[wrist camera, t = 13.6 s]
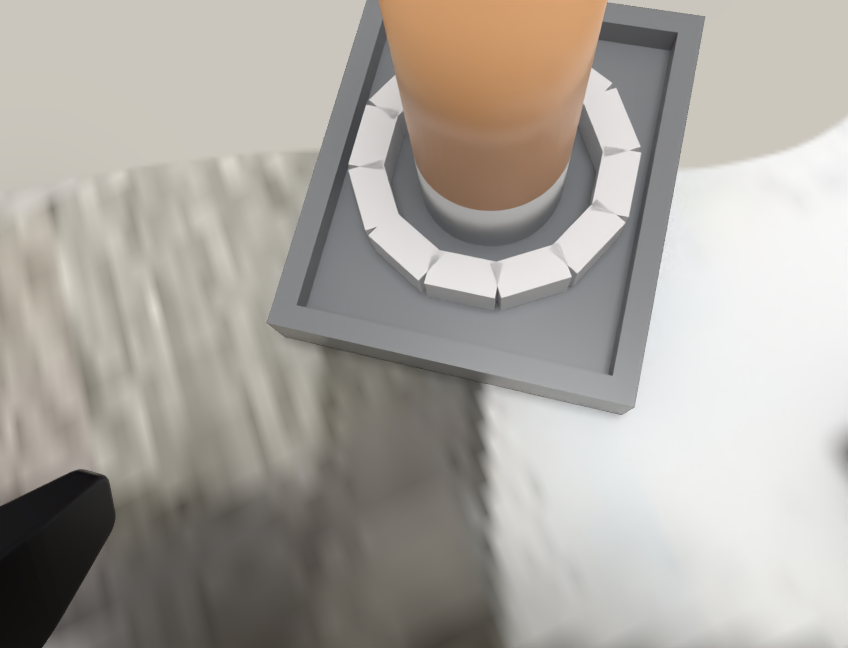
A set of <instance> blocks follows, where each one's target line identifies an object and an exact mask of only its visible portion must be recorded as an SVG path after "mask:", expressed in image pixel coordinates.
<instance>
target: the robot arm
mask: <svg viewBox="0 0 848 648" xmlns="http://www.w3.org/2000/svg"><path fill="white" fill-rule="evenodd" d="M114 523H115V508H114V503H113V498H112V493H111V488H110V483H109V480H108V478H107V477H106V476H105V475H102V474H99V473H95V472H92V471H88V470H83V469H79V470H75V471H72V472H70V473H68V474H66V475H64V476H61V477H59V478H57V479H55V480H53V481H51V482H49V483H47V484H45V485H43V486H41V487H39V488H37V489H35V490H33V491H31V492H28V493H26V494H24V495H22V496H20V497H18V498H16V499H14V500H12V501H10V502H8V503H6V504H4V505H2V506H0V648H42V647H43V646H44V644H45V643H46V641H47V640H48V638H49V637H50V635H51V634H52V632H53V631H54V629H55V628H56V626H57V624H58V623H59V621H60V620H61V618H62V616H63V615H64V613H65V611H66V610H67V608H68V606H69V604H70V603H71V601H72V599H73V597H74V596H75V594H76V592H77V590H78V589H79V587H80V585H81V583H82V582H83V580H84V578H85V577H86V575H87V573H88V571H89V570H90V568H91V566H92V564H93V563H94V561H95V559H96V557H97V556H98V554H99V552H100V550H101V549H102V547H103V545H104V544H105V542H106V540H107V538H108V537H109V535H110V533H111V531H112V529H113V526H114Z"/></svg>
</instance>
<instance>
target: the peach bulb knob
mask: <svg viewBox="0 0 848 648" xmlns="http://www.w3.org/2000/svg"><path fill="white" fill-rule="evenodd" d="M379 5H380V9H381V13H382V18H383V22H384V27H385V31H386V36H387V40H388V44H389V49H390V53H391V58H392V62H393V67H394V71H395V75H396V80H397V84H398V89H399V93H400V98H401V102H402V106H403V111H404V115H405V120H406V124H407V129H408V133H409V137H410V142H411V146H412V151H413V155H414V160H415V164H416V168H417V173H418V177H419V182H420V186H421V191H422V195H423V199H424V202H425V205H426V207H427V209H428V211H429V213H430V214H431V216H432V217H433V219H434V220H435V221H436V223H437V224H438V225H439V226H440V227H441V228H442V229H444V230H445V231H446V232H447V233H449V234H450V235H452V236H453V237H455V238H457V239H459V240H462V241H464V242H467V243H470V244H474V245H480V246H502V245H507V244H511V243H515V242H518V241H520V240H522V239H525V238H527V237H529V236H530V235H532V234H533V233H535V232H536V231H538V230H539V229H540V228H541V227H542V226H543V225H544V224H545V223H546V222H547V221H548V220H549V219H550V217H551V216H552V215H553V213H554V212H555V210H556V208H557V206H558V204H559V201H560V198H561V195H562V191H563V187H564V182H565V178H566V174H567V170H568V165H569V161H570V157H571V153H572V149H573V144H574V140H575V136H576V132H577V127H578V123H579V119H580V115H581V110H582V106H583V102H584V98H585V94H586V89H587V85H588V81H589V77H590V72H591V68H592V64H593V60H594V55H595V51H596V47H597V43H598V39H599V34H600V30H601V26H602V22H603V17H604V13H605V9H606V5H607V0H379Z"/></svg>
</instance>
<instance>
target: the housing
mask: <svg viewBox="0 0 848 648" xmlns="http://www.w3.org/2000/svg"><path fill="white" fill-rule="evenodd" d="M704 21H705V16H699V15H692V14H684V13H677V12H671V11H663V10H657V9H649V8H643V7H636V6H628V5H622V4H615V3H608V2H607V5H606V9H605V13H604V17H603V22H602V26H601V30H600V34H599V39H598V43H597V47H596V51H595V55H594V60H593V64H592V68H591V72H590V77H589V81H588V85H587V89H586V94H585V98H584V102H583V106H582V110H581V115H580V119H579V123H578V127H577V132H576V136H575V140H574V144H573V149H572V153H571V157H570V161H569V165H568V170H567V174H566V178H565V182H564V187H563V191H562V195H561V198H560V201H559V204H558V206H557V208H556V210H555V212H554V213H553V215H552V216H551V217H550V219H549V220H548V221H547V222H546V223H545V224H544V225H543V226H542V227H541V228H540V229H539V230H538V231H536V232H535V233H533V234H532V235H530V236H529V237H527V238H525V239H522V240H520V241H518V242H515V243H511V244H507V245H502V246H480V245H474V244H470V243H467V242H464V241H462V240H459V239H457V238H455V237H453V236H452V235H450V234H449V233H447V232H446V231H445V230H444V229H442V228H441V227H440V226H439V225H438V224H437V223H436V221H435V220H434V219H433V217H432V216H431V214H430V213H429V211H428V209H427V207H426V205H425V202H424V199H423V195H422V191H421V186H420V182H419V177H418V173H417V168H416V164H415V160H414V155H413V151H412V146H411V142H410V137H409V133H408V129H407V124H406V120H405V115H404V111H403V106H402V102H401V98H400V93H399V89H398V84H397V80H396V75H395V71H394V67H393V62H392V58H391V53H390V49H389V44H388V40H387V36H386V31H385V27H384V22H383V18H382V13H381V9H380V5H379V0H367V1H366V4H365V7H364V11H363V14H362V18H361V20H360V24H359V27H358V30H357V33H356V36H355V40H354V43H353V46H352V50H351V53H350V56H349V59H348V62H347V66H346V69H345V72H344V75H343V78H342V82H341V85H340V88H339V91H338V95H337V98H336V101H335V104H334V108H333V111H332V114H331V117H330V120H329V124H328V127H327V130H326V133H325V137H324V140H323V143H322V146H321V149H320V153H319V156H318V159H317V162H316V166H315V169H314V172H313V175H312V178H311V182H310V185H309V188H308V191H307V195H306V198H305V201H304V204H303V208H302V211H301V214H300V217H299V220H298V224H297V227H296V230H295V233H294V237H293V240H292V243H291V246H290V249H289V253H288V256H287V259H286V262H285V266H284V269H283V272H282V275H281V279H280V282H279V285H278V288H277V291H276V295H275V298H274V301H273V304H272V308H271V311H270V314H269V317H268V320H267V323H268V324H269V325H270V326H272V327H273V328H274V329H275V330H277V331H278V332H279V333H281V334H282V335H283V336H284V337H289V338H293V339H297V340H301V341H306V342H310V343H314V344H319V345H323V346H327V347H332V348H336V349H340V350H345V351H349V352H353V353H358V354H362V355H366V356H371V357H375V358H379V359H383V360H388V361H392V362H396V363H401V364H405V365H409V366H414V367H418V368H422V369H427V370H431V371H435V372H440V373H444V374H448V375H452V376H457V377H461V378H465V379H470V380H474V381H478V382H483V383H487V384H491V385H496V386H500V387H504V388H509V389H513V390H517V391H521V392H526V393H530V394H534V395H539V396H543V397H547V398H552V399H556V400H560V401H565V402H569V403H573V404H578V405H582V406H586V407H591V408H595V409H599V410H603V411H608V412H612V413H616V414H621V415H623V414H624V413H626V412H628V411H629V410H631V409H632V408H634V407H635V402H636V396H637V391H638V385H639V380H640V374H641V368H642V363H643V357H644V352H645V346H646V341H647V335H648V330H649V324H650V319H651V313H652V308H653V302H654V297H655V291H656V286H657V280H658V275H659V269H660V264H661V258H662V253H663V247H664V241H665V236H666V230H667V225H668V219H669V214H670V208H671V203H672V197H673V192H674V186H675V181H676V175H677V170H678V164H679V159H680V153H681V147H682V142H683V137H684V131H685V126H686V120H687V114H688V109H689V103H690V97H691V92H692V87H693V81H694V75H695V70H696V65H697V59H698V54H699V48H700V42H701V37H702V31H703V26H704Z"/></svg>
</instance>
